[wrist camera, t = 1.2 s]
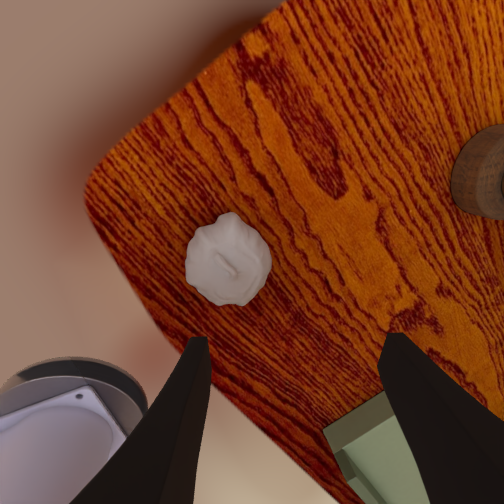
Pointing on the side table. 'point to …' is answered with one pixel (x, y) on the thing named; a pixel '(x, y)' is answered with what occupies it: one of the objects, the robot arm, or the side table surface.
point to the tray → (376, 455)
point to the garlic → (227, 261)
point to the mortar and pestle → (481, 174)
